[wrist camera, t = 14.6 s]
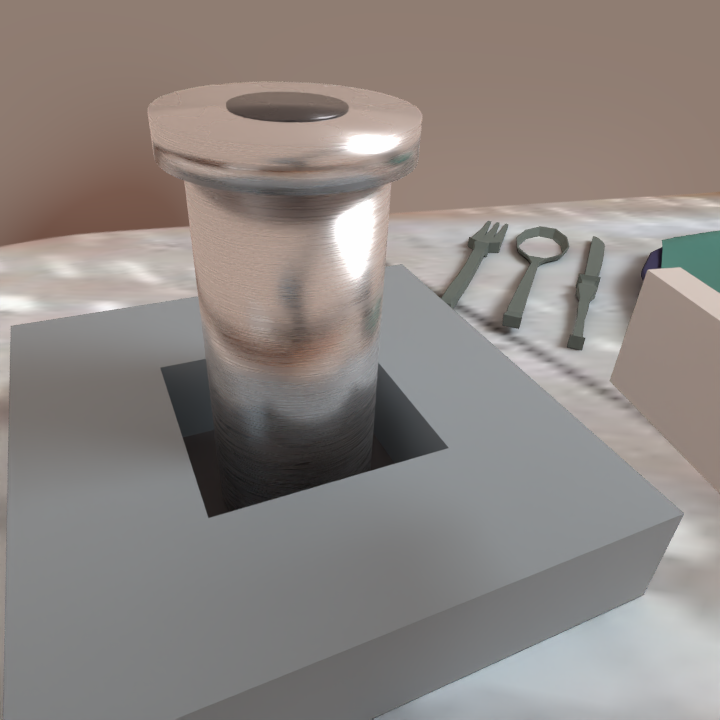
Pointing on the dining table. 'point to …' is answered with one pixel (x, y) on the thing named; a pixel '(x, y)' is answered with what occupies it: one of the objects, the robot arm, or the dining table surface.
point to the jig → (296, 528)
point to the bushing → (288, 268)
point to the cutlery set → (587, 268)
